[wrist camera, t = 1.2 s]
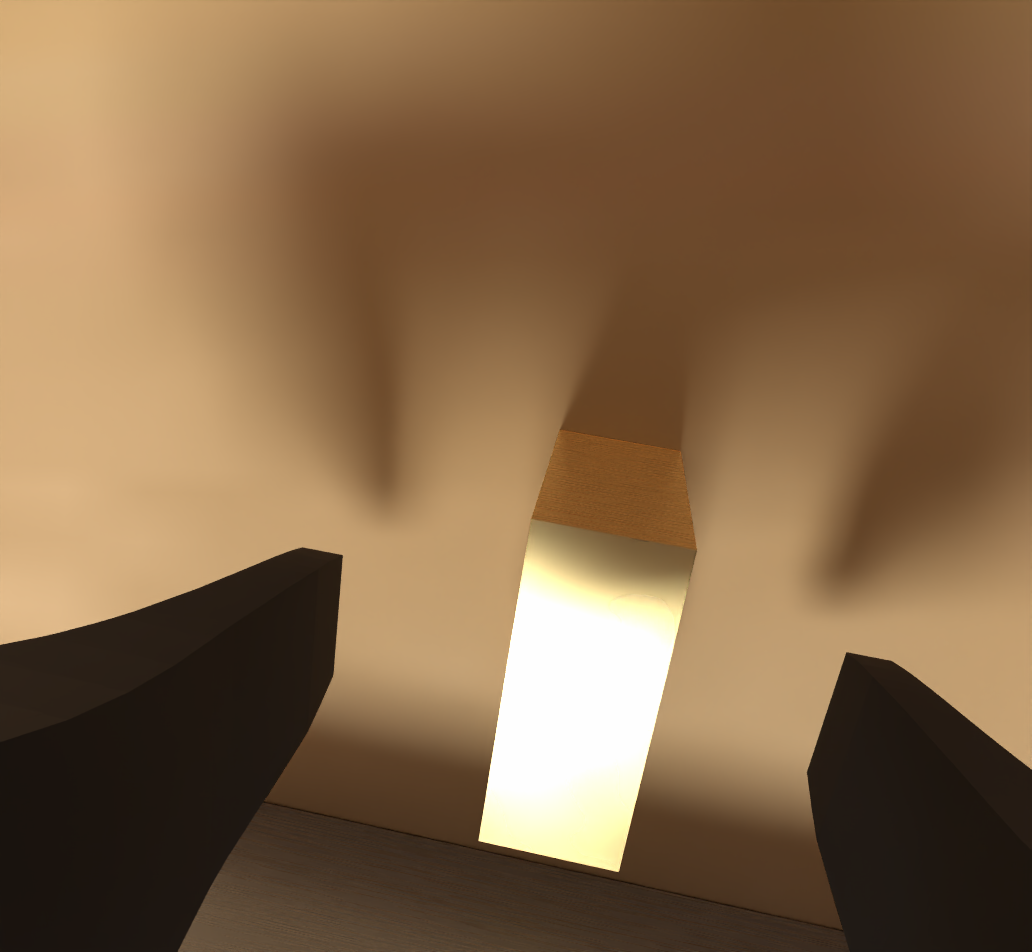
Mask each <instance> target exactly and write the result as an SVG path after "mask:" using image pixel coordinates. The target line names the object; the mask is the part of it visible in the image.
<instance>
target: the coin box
mask: <svg viewBox="0 0 1032 952" xmlns="http://www.w3.org/2000/svg"><path fill="white" fill-rule="evenodd" d="M178 952H850V951H849V948H848V945H847V941H846V938H845V935H844V931H840V930H835V929H831V928H826V927H822V926H817V925H813V924H808V923H804V922H799V921H795V920H790V919H786V918H781V917H777V916H772V915H768V914H763V913H759V912H754V911H750V910H745V909H741V908H736V907H732V906H727V905H723V904H718V903H714V902H709V901H705V900H700V899H696V898H691V897H687V896H682V895H678V894H673V893H669V892H664V891H660V890H655V889H651V888H646V887H642V886H637V885H633V884H629V883H624V882H620V881H615V880H611V879H606V878H602V877H597V876H593V875H588V874H584V873H579V872H575V871H570V870H566V869H561V868H557V867H552V866H548V865H543V864H539V863H534V862H530V861H525V860H521V859H516V858H512V857H507V856H503V855H498V854H494V853H489V852H485V851H480V850H476V849H471V848H467V847H462V846H458V845H453V844H449V843H444V842H440V841H435V840H431V839H426V838H422V837H417V836H413V835H408V834H404V833H399V832H395V831H390V830H386V829H381V828H377V827H373V826H368V825H364V824H359V823H355V822H350V821H346V820H341V819H337V818H332V817H328V816H323V815H319V814H314V813H310V812H305V811H301V810H296V809H292V808H287V807H283V806H278V805H274V804H269V803H265V802H263V803H262V805H261V806H260V808H259V809H258V811H257V813H256V814H255V816H254V817H253V819H252V820H251V822H250V823H249V825H248V827H247V828H246V830H245V831H244V833H243V834H242V836H241V837H240V839H239V841H238V842H237V844H236V845H235V847H234V848H233V850H232V851H231V853H230V855H229V856H228V858H227V859H226V861H225V863H224V865H223V866H222V868H221V870H220V871H219V873H218V875H217V877H216V878H215V880H214V882H213V883H212V885H211V887H210V889H209V891H208V893H207V895H206V897H205V899H204V901H203V903H202V904H201V906H200V908H199V910H198V912H197V914H196V916H195V918H194V920H193V922H192V924H191V926H190V928H189V930H188V932H187V934H186V936H185V938H184V940H183V942H182V944H181V946H180V948H179V950H178Z"/></svg>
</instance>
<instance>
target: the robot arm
mask: <svg viewBox="0 0 1032 952" xmlns="http://www.w3.org/2000/svg"><path fill="white" fill-rule="evenodd" d="M342 558H343V555H339V554H334V553H329V552H323V551H318V550H313V549H308V548H303V547H302V548H299V549H295V550H292V551H289V552H286V553H284V554H281V555H278V556H276V557H273V558H271V559H268V560H266V561H263V562H261V563H259V564H256V565H254V566H251V567H249V568H247V569H244V570H242V571H239V572H237V573H234V574H232V575H230V576H227V577H225V578H222V579H220V580H217V581H215V582H212V583H210V584H208V585H205V586H203V587H200V588H198V589H195V590H192V591H190V592H187V593H184V594H181V595H178V596H176V597H173V598H170V599H167V600H165V601H162V602H159V603H156V604H154V605H151V606H148V607H145V608H142V609H140V610H137V611H134V612H131V613H128V614H125V615H121V616H118V617H115V618H112V619H108V620H105V621H101V622H98V623H94V624H91V625H87V626H83V627H79V628H75V629H72V630H68V631H64V632H60V633H56V634H52V635H48V636H43V637H39V638H33V639H28V640H23V641H18V642H13V643H8V644H3V645H0V952H178V950H179V948H180V946H181V944H182V942H183V940H184V938H185V936H186V934H187V932H188V930H189V928H190V926H191V924H192V922H193V920H194V918H195V916H196V914H197V912H198V910H199V908H200V906H201V904H202V903H203V901H204V899H205V897H206V895H207V893H208V891H209V889H210V887H211V885H212V883H213V882H214V880H215V878H216V877H217V875H218V873H219V871H220V870H221V868H222V866H223V865H224V863H225V861H226V859H227V858H228V856H229V855H230V853H231V851H232V850H233V848H234V847H235V845H236V844H237V842H238V841H239V839H240V837H241V836H242V834H243V833H244V831H245V830H246V828H247V827H248V825H249V823H250V822H251V820H252V819H253V817H254V816H255V814H256V813H257V811H258V809H259V808H260V806H261V805H262V803H263V802H264V800H265V799H266V797H267V795H268V794H269V792H270V791H271V789H272V788H273V786H274V785H275V783H276V781H277V780H278V778H279V777H280V775H281V774H282V772H283V770H284V769H285V767H286V766H287V764H288V763H289V761H290V759H291V758H292V756H293V755H294V753H295V751H296V750H297V748H298V747H299V745H300V743H301V742H302V740H303V739H304V737H305V735H306V734H307V732H308V730H309V728H310V726H311V724H312V721H313V719H314V717H315V715H316V713H317V711H318V709H319V707H320V704H321V702H322V700H323V698H324V695H325V693H326V691H327V689H328V686H329V684H330V682H331V679H332V677H333V672H334V660H335V647H336V634H337V622H338V609H339V596H340V584H341V571H342ZM807 776H808V783H809V791H810V799H811V806H812V813H813V819H814V825H815V832H816V838H817V842H818V846H819V849H820V853H821V856H822V860H823V863H824V867H825V870H826V874H827V877H828V881H829V884H830V888H831V891H832V895H833V898H834V901H835V905H836V908H837V911H838V915H839V918H840V921H841V925H842V928H843V931H844V935H845V938H846V941H847V945H848V948H849V951H850V952H1032V770H1031V769H1030V768H1029V767H1027V766H1026V765H1025V764H1024V763H1022V762H1021V761H1020V760H1018V759H1017V758H1016V757H1014V756H1013V755H1012V754H1011V753H1009V752H1008V751H1007V750H1006V749H1004V748H1003V747H1002V746H1001V745H999V744H998V743H997V742H996V741H994V740H993V739H992V738H991V737H989V736H988V735H987V734H986V733H984V732H983V731H982V730H981V729H979V728H978V727H977V726H976V725H974V724H973V723H972V722H971V721H970V720H968V719H967V718H966V717H965V716H963V715H962V714H961V713H960V712H958V711H957V710H956V709H955V708H954V707H952V706H951V705H950V704H949V703H947V702H946V701H945V700H944V699H942V698H941V697H940V696H939V695H937V694H936V693H935V692H934V691H933V690H931V689H930V688H929V687H927V686H926V685H925V684H924V683H922V682H921V681H920V680H918V679H917V678H916V677H914V676H913V675H912V674H910V673H909V672H908V671H906V670H905V669H903V668H902V667H900V666H899V665H897V664H896V663H894V662H892V661H889V660H884V659H879V658H873V657H868V656H863V655H858V654H853V653H847V652H846V655H845V658H844V661H843V664H842V667H841V670H840V674H839V677H838V680H837V683H836V686H835V689H834V692H833V695H832V698H831V701H830V704H829V707H828V710H827V713H826V716H825V719H824V722H823V725H822V728H821V731H820V734H819V737H818V741H817V744H816V747H815V750H814V753H813V756H812V759H811V762H810V765H809V768H808V771H807Z"/></svg>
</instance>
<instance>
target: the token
mask: <svg viewBox="0 0 1032 952" xmlns="http://www.w3.org/2000/svg"><path fill="white" fill-rule="evenodd" d="M696 552H697V548H696V542H695V536H694V529H693V523H692V517H691V511H690V505H689V499H688V493H687V487H686V480H685V474H684V468H683V462H682V456H681V451H678V450H672V449H667V448H661V447H655V446H650V445H644V444H639V443H633V442H628V441H622V440H616V439H611V438H605V437H600V436H594V435H588V434H583V433H577V432H572V431H566V430H560V431H559V434H558V437H557V440H556V443H555V446H554V449H553V453H552V456H551V459H550V462H549V465H548V468H547V471H546V474H545V477H544V481H543V484H542V487H541V490H540V493H539V496H538V499H537V502H536V506H535V509H534V512H533V515H532V518H531V523H530V529H529V535H528V541H527V548H526V554H525V560H524V566H523V572H522V578H521V584H520V590H519V596H518V603H517V609H516V615H515V621H514V627H513V633H512V639H511V645H510V651H509V658H508V664H507V670H506V676H505V682H504V688H503V694H502V700H501V706H500V713H499V719H498V725H497V731H496V737H495V743H494V749H493V755H492V761H491V768H490V774H489V780H488V786H487V792H486V798H485V804H484V810H483V816H482V823H481V829H480V835H479V841H481V842H486V843H490V844H495V845H499V846H504V847H508V848H513V849H517V850H522V851H526V852H531V853H535V854H540V855H544V856H549V857H553V858H558V859H562V860H567V861H571V862H576V863H580V864H585V865H589V866H594V867H598V868H603V869H607V870H612V871H616V872H619V868H620V864H621V860H622V856H623V852H624V848H625V844H626V840H627V836H628V831H629V827H630V823H631V819H632V815H633V811H634V807H635V803H636V799H637V794H638V790H639V786H640V782H641V778H642V774H643V770H644V766H645V762H646V757H647V753H648V749H649V745H650V741H651V737H652V733H653V729H654V725H655V720H656V716H657V712H658V708H659V704H660V700H661V696H662V692H663V688H664V683H665V679H666V675H667V671H668V667H669V663H670V659H671V655H672V651H673V646H674V642H675V638H676V634H677V630H678V626H679V622H680V618H681V614H682V609H683V605H684V601H685V597H686V593H687V589H688V585H689V581H690V577H691V572H692V568H693V564H694V560H695V556H696Z"/></svg>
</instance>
